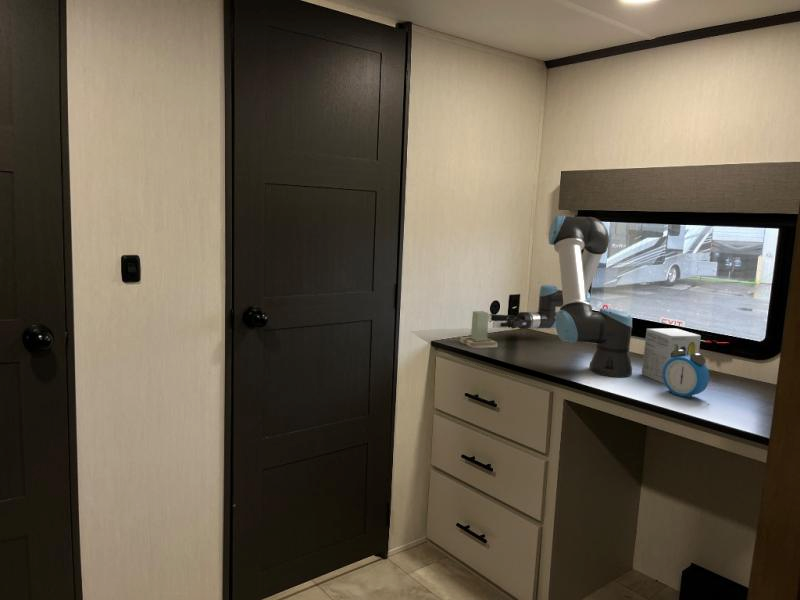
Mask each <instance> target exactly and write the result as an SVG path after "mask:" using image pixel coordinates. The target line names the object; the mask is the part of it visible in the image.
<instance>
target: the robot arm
mask: <svg viewBox="0 0 800 600" xmlns="http://www.w3.org/2000/svg"><path fill="white" fill-rule="evenodd" d="M609 243H610V236H609V231H608V229H607V227H606V226H605V224H604V223H603V222H602V221H601V220H600V219H598V218H596V217H594V216H593V217H592V216H568V215H567V216H566V215H556V216H555V217H553V219H552V221H551V223H550V227H549V231H548V244H549V245H551V246H553V248H554V251H555V252H556V253H558V258H559V259H558V261H559V268H560V269H559V271H560V272H559V273H560V280H561V281H560V283H561V289H558V286H556V285H553V284H542V285H540V289H539V295H538V296H539V297H538V309H537V311H520V312H518V313H517V315H510V314H495V313H493V314H491V313H489V316H488V322H489V323H492V328H493V329H495V328H496V329H499V328H500V329H501V328H510V329H517V328H518V329H520V330H527V329H528V330H529V329H530V330H532V331H534V329H554V328H555V330H556V334H557V337H558V338H559V339H560V341H563V342H566V343H571V344H578V343H579V344H596V345H595V346H596V347H595V351H594V353H593V356H592V358H591V361H590V362H589V366H588V369H589V371H590V372H593V373H594V374H598V375H602V376H606V377H613V378H615V377H616V378H624V377H625V378H627V377H630V376H632V374H633V367H632V361H631V357H630V349H631V348H630V346H631V340H632V339H631V337H632V331H633V330H632V329H633V316H632V315H631V314H629V313H627V312H624V311H620V310H617V309H611V308H605V307H602V308H600V309H599V310H598V311H599V312H598V311H593V308H592V307H593V306H592V304H591V293H590V292H589V290H590V287H591V285H592V282H593V280H594V277H595V274H596V272H597V270H598V266H599V263H600V262H601V259H602V257H603V255H604V254H605V253H607V251H608V247H609V246H610V245H609ZM582 251H583V252H582ZM556 308H559V310H558V311H556Z"/></svg>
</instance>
